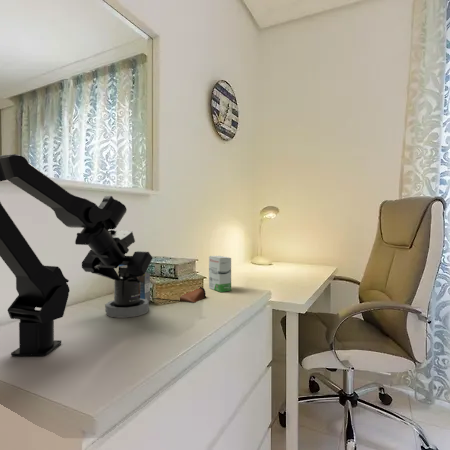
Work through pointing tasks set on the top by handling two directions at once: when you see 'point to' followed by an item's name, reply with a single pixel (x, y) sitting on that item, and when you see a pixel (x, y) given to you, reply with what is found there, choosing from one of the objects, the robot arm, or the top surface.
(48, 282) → the robot arm
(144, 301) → the ring seat
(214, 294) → the top surface
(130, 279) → the supplement bottle
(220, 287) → the ink box
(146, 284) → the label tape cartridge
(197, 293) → the sunglasses case
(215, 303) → the top surface
